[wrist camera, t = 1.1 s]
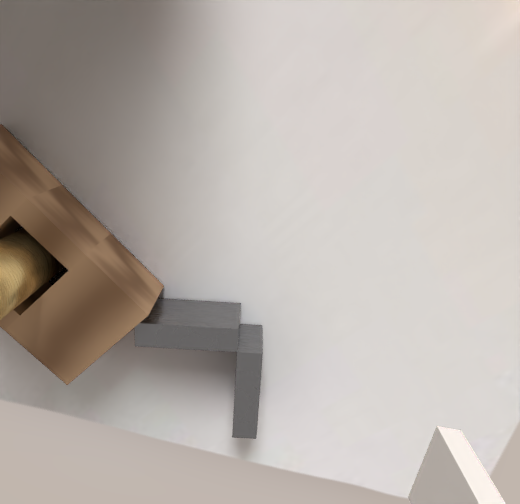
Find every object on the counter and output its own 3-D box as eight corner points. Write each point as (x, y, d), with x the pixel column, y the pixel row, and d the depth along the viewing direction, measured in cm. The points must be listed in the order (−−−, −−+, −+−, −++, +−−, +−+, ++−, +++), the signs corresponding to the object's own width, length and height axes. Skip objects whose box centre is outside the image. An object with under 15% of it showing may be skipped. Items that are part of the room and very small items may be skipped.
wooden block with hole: (-70, 199, 39) (-127, 215, 33) (1, 124, 37) (-46, 128, 31) (93, 347, 43) (67, 385, 37) (163, 286, 41) (148, 315, 35)
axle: (13, 241, 40) (-140, 326, 25) (48, 207, 39) (-89, 273, 24) (53, 278, 41) (-71, 381, 26) (87, 246, 40) (-19, 333, 25)
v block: (137, 307, 42) (121, 333, 37) (196, 256, 40) (187, 277, 36) (245, 411, 45) (243, 447, 40) (302, 367, 43) (308, 400, 39)
